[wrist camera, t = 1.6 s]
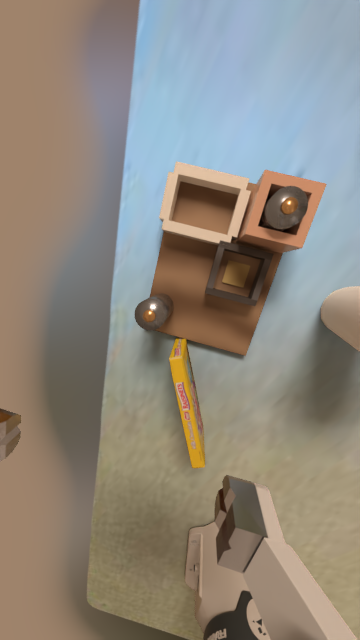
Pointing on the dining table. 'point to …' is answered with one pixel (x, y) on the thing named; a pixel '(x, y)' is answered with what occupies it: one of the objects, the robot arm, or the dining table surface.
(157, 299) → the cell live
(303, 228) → the terracotta square box
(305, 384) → the dining table surface
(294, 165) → the dining table surface
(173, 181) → the trough
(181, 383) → the candy box
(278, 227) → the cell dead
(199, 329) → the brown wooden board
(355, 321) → the foam cup
